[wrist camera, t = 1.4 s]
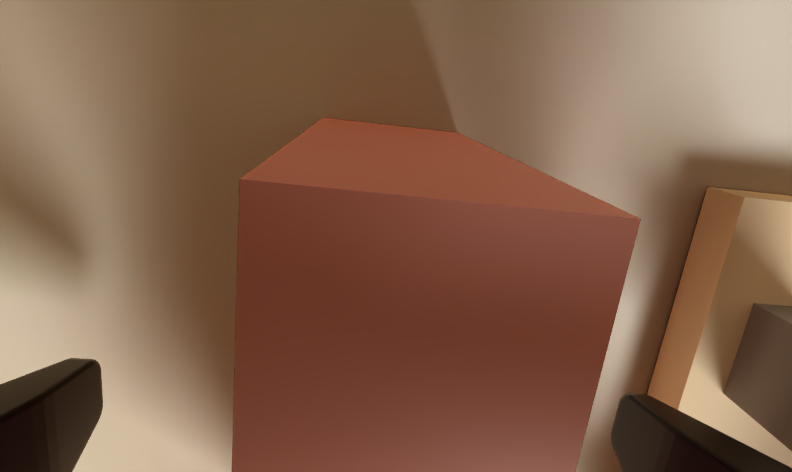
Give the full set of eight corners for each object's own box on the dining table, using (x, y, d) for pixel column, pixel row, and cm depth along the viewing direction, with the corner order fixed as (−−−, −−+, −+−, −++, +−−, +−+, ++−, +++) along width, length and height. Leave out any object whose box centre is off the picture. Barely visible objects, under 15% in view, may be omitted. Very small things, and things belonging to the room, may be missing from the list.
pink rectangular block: (323, 117, 9) (238, 178, 3) (456, 132, 9) (641, 218, 3) (295, 509, 12) (217, 994, 5) (401, 513, 12) (443, 982, 6)
